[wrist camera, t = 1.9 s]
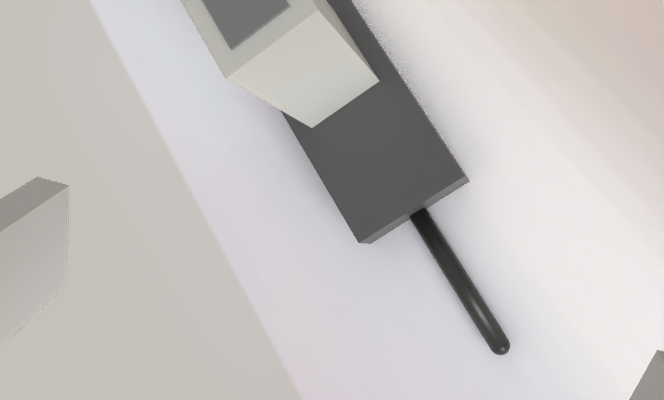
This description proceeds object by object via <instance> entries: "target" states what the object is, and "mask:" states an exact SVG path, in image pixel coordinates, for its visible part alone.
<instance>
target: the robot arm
mask: <svg viewBox="0 0 664 400" xmlns="http://www.w3.org/2000/svg"><path fill="white" fill-rule="evenodd" d="M68 221H69V186H68V185H65V184H62V183H58V182H54V181H51V180H47V179H44V178H40V177H36V178H35V179H33V180H31V181H30V182H28V183H26V184H25V185H23V186H21V187H20V188H18V189H16V190H15V191H13V192H12V193H10V194H8V195H6V196H5V197H3V198H2V199H0V348H1V347H2V346H3V345H4V344H5V343H7V342H8V341H9V340H10V339H11V338H12V337H13V336H14V335H15V334H16V333H17V332H18V331H19V330H20V329H22V328H23V327H24V326H25V325H26V324H27V323H28V322H29V321H30V320H31V319H32V318H33V317H34V316H36V314H38V313H39V312H40V311H41V310H42V309H43V308H44V307H45V306H46V305H48V303H50V302H51V301H52V300H53V299H54V298H55V297H56V296H57V295H58V294H59V293H60V292H61V291H63V290H64V289H65V288H66V287H67V276H68V274H67V273H68ZM629 400H664V352H663V351H659V350H657V352H656V353H655V355H654V357H653V359H652V360H651V362H650V364H649V366H648V368H647V369H646V371H645V373H644V375H643V376H642V378H641V380H640V382H639V383H638V385H637V387H636V389H635V391H634V392H633V394H632V396H631V398H630V399H629Z"/></svg>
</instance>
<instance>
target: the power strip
mask: <svg viewBox="0 0 664 400" xmlns="http://www.w3.org/2000/svg"><path fill="white" fill-rule="evenodd" d="M326 1H327V2H328V3H329V4H330V6H331V7H332V8H333V9H334V11H335V12H336V14H337V15H338V17H339V18H340V20H341V22H342V23H343V25H344V26H345V28H346V29H347V31H348V32H349V34H350V36H351V37H352V39H353V40H354V42H355V43H356V45H357V46H358V48H359V50H360V51H361V53H362V54H363V56H364V57H365V59H366V60H367V62H368V64H369V65H370V67H371V68H372V70H373V71H374V73H375V74H376V76H377V78H378V79H379V82H378V83H376V84H375V85H373V86H372V87H370V88H369V89H368V90H366V91H365V92H363V93H362V94H360V95H359V96H357V97H356V98H355V99H353V100H352V101H350V102H349V103H347V104H346V105H345V106H343V107H342V108H340V109H339V110H337V111H336V112H334V113H333V114H332V115H330V116H329V117H327V118H326V119H324V120H323V121H322V122H320V123H319V124H317V125H316V126H314V127H313V128H311V127H309V126H307V125H306V124H304V123H302V122H300V121H299V120H297V119H295V118H293V117H292V116H290V115H288V114H286V113H285V112H283V111H281V112H282V113H283V115H284V117H285V119H286V120H287V122H288V124H289V125H290V127H291V129H292V130H293V132H294V134H295V136H296V137H297V139H298V141H299V142H300V144H301V146H302V147H303V149H304V151H305V152H306V154H307V156H308V158H309V159H310V161H311V163H312V164H313V166H314V168H315V169H316V171H317V173H318V175H319V176H320V178H321V180H322V181H323V183H324V185H325V186H326V188H327V190H328V192H329V193H330V195H331V197H332V198H333V200H334V202H335V203H336V205H337V207H338V209H339V210H340V212H341V214H342V215H343V217H344V219H345V220H346V222H347V224H348V226H349V227H350V229H351V231H352V232H353V234H354V236H355V237H356V239H357V241H358V242H359V243H368V244H371V243H372V242H374V241H375V240H377V239H379V238H380V237H382V236H383V235H385V234H387V233H388V232H390V231H391V230H393V229H394V228H396V227H398V226H399V225H401V224H402V223H404V222H406V221H407V220H409V219H411V221H412V222H413V224H414V226H415V227H416V229H417V230H418V232H419V234H420V235H421V237H422V239H423V240H424V242H425V243H426V245H427V247H428V248H429V250H430V251H431V253H432V255H433V256H434V258H435V260H436V261H437V263H438V264H439V266H440V268H441V269H442V271H443V273H444V274H445V276H446V277H447V279H448V281H449V282H450V284H451V285H452V287H453V289H454V290H455V292H456V294H457V295H458V297H459V298H460V300H461V302H462V303H463V305H464V307H465V308H466V310H467V311H468V313H469V315H470V316H471V318H472V319H473V321H474V323H475V324H476V326H477V328H478V329H479V331H480V332H481V334H482V336H483V337H484V339H485V341H486V342H487V344H488V345H489V347H490V349H491V350H492V351H493V352H494V353H495V354H497V355H504V354H506V353H507V352H508V351H509V348H510V343H509V340H508V339H507V337H506V335H505V334H504V332H503V331H502V329H501V327H500V326H499V324H498V323H497V321H496V320H495V318H494V316H493V315H492V313H491V312H490V310H489V308H488V307H487V305H486V304H485V302H484V300H483V299H482V297H481V296H480V294H479V292H478V291H477V289H476V288H475V286H474V284H473V283H472V281H471V280H470V278H469V276H468V275H467V273H466V272H465V270H464V268H463V267H462V265H461V264H460V262H459V261H458V259H457V257H456V256H455V254H454V253H453V251H452V249H451V248H450V246H449V245H448V243H447V241H446V240H445V238H444V237H443V235H442V233H441V232H440V230H439V229H438V227H437V225H436V224H435V222H434V221H433V219H432V217H431V216H430V214H429V213H428V211H427V210H426V208H428V207H429V206H431V205H433V204H434V203H436V202H437V201H439V200H440V199H442V198H444V197H445V196H447V195H448V194H450V193H452V192H453V191H455V190H456V189H458V188H460V187H461V186H463V185H464V184H466V183H467V182H469V180H468V178H467V177H466V175H465V174H464V172H463V171H462V169H461V168H460V166H459V165H458V163H457V162H456V160H455V158H454V157H453V155H452V154H451V152H450V151H449V149H448V148H447V146H446V145H445V143H444V142H443V140H442V139H441V137H440V136H439V134H438V132H437V131H436V129H435V128H434V126H433V125H432V123H431V122H430V120H429V119H428V117H427V116H426V114H425V113H424V111H423V110H422V108H421V107H420V105H419V103H418V102H417V100H416V99H415V97H414V96H413V94H412V93H411V91H410V90H409V88H408V87H407V85H406V84H405V82H404V81H403V79H402V77H401V76H400V74H399V73H398V71H397V70H396V68H395V67H394V65H393V64H392V62H391V61H390V59H389V58H388V56H387V55H386V53H385V51H384V50H383V48H382V47H381V45H380V44H379V42H378V41H377V39H376V38H375V36H374V35H373V33H372V32H371V30H370V29H369V27H368V25H367V24H366V22H365V21H364V19H363V18H362V16H361V15H360V13H359V12H358V10H357V9H356V7H355V6H354V4H353V3H352V1H351V0H326Z"/></svg>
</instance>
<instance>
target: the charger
mask: <svg viewBox="0 0 664 400" xmlns="http://www.w3.org/2000/svg"><path fill="white" fill-rule="evenodd" d="M181 2H182V4H183V5H184V7H185V9H186V11H187V12H188V14H189V16H190V18H191V19H192V21H193V23H194V25H195V26H196V28H197V30H198V32H199V33H200V35H201V37H202V39H203V40H204V42H205V44H206V46H207V47H208V49H209V51H210V53H211V54H212V56H213V58H214V60H215V61H216V63H217V65H218V67H219V68H220V70H221V72H222V74H223V75H224V77H225V79H227V80H228V81H230V82H232V83H234V84H235V85H237V86H239V87H241V88H242V89H244V90H246V91H248V92H249V93H251V94H253V95H255V96H256V97H258V98H260V99H262V100H263V101H265V102H267V103H269V104H270V105H272V106H274V107H276V108H277V109H279V110H281V111H283V112H285V113H286V114H288V115H290V116H292V117H293V118H295V119H297V120H299V121H300V122H302V123H304V124H306V125H307V126H309V127H311V128H313V127H314V126H316V125H317V124H319V123H320V122H322V121H323V120H324V119H326V118H327V117H329V116H330V115H332V114H333V113H334V112H336V111H337V110H339V109H340V108H342V107H343V106H345V105H346V104H347V103H349V102H350V101H352V100H353V99H355V98H356V97H357V96H359V95H360V94H362V93H363V92H365V91H366V90H368V89H369V88H370V87H372V86H373V85H375V84H376V83H378V82H379V79H378V78H377V76H376V74H375V73H374V71H373V70H372V68H371V67H370V65H369V64H368V62H367V60H366V59H365V57H364V56H363V54H362V53H361V51H360V50H359V48H358V46H357V45H356V43H355V42H354V40H353V39H352V37H351V36H350V34H349V32H348V31H347V29H346V28H345V26H344V25H343V23H342V22H341V20H340V18H339V17H338V15H337V14H336V12H335V11H334V9H333V8H332V7H331V6H330V4H329V3H328V2H327V1H326V0H181Z"/></svg>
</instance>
